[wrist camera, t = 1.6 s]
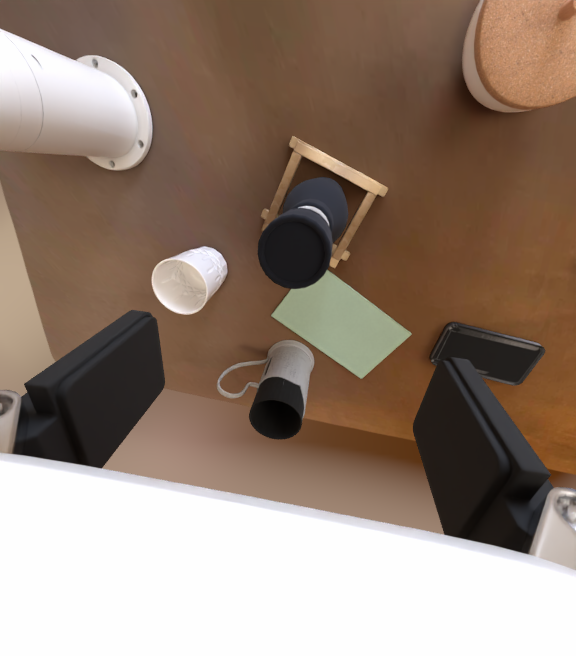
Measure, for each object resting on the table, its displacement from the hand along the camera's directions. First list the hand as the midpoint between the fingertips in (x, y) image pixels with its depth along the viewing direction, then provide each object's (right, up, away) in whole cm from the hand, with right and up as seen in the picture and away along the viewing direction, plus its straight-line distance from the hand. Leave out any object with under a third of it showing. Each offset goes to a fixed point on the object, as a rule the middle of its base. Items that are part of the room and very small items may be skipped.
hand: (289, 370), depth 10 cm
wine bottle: (+5, +19, +32) cm, 37 cm away
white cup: (-13, +12, +39) cm, 42 cm away
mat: (+9, +2, +40) cm, 41 cm away
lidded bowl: (+24, +31, +22) cm, 45 cm away
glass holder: (-2, -3, +45) cm, 45 cm away
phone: (+32, -2, +38) cm, 50 cm away
